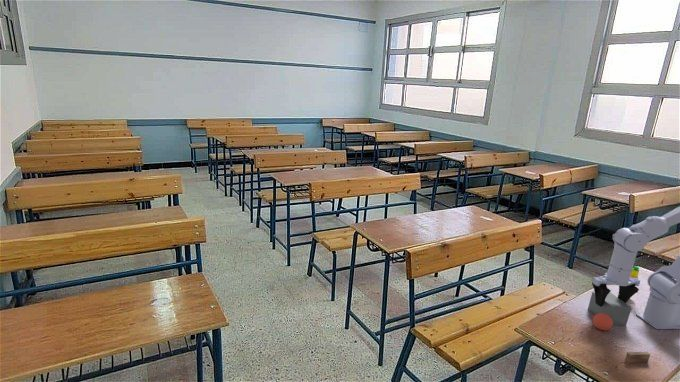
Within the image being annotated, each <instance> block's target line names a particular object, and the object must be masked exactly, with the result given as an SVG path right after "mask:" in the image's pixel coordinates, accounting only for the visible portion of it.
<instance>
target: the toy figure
mask: <svg viewBox="0 0 680 382" xmlns="http://www.w3.org/2000/svg"><path fill="white" fill-rule="evenodd" d="M639 274H640V267H639V266H637V265H633V268H632V272H631V275H630V277H633V278H637V279H639Z"/></svg>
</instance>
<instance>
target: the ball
mask: <svg viewBox="0 0 680 382" xmlns="http://www.w3.org/2000/svg"><path fill="white" fill-rule="evenodd" d="M592 323H593V325H594V326H595V327H596V328H597V329H599V330H600V331H608V330H610V329H611V328H612V327H613V326H614V325H613V321H612V319H611V318H610V316H608V315H607V314H604V313H598V314H596V315H595V314H594V315H593V318H592Z"/></svg>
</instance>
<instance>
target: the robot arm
mask: <svg viewBox="0 0 680 382" xmlns="http://www.w3.org/2000/svg"><path fill="white" fill-rule="evenodd" d="M677 224H680V206H677V207H676V208H674V209H673V210H670V211H669V212H667V213H665V214H663V215H662V216H656V215H653V216H650V215H649V216H648V217H646V218H645V219H644V220H643V221H640V222H638V223H636V224H633V225H631V226H629V227H621V228H620V229H618V230H616V231H615V233H613V234H612V240H613V242H614V245H613V247H614V248H613V250H612V255H611V258H610V262H609V266H608V267H607V269H608V270H607V272H605V273H604V275H602V276H601V275H600V276H597V277H596V276H594V277H593V278H592V280H591V281H592V282H591V285H592V288H593V290H594V291H593V292H595V303H596V304H597V305H599V306H600V307H602V306H603V304H604V301H605V299H606V297H607V295H608V294H609V293H611V291H612V290H611V289H609V288H608V286H618V294H617V297H618V298H619V299H620V300H622V301H623V302H625V303H626V304H628V302H629V300H630V299H631V298H632V296H633V297H634V295H635V294H636V293H638V292H639V291H640V289H639V288H638V287H640V284H641V280H640V279H639V278H633V277H630V275H631V272H632V268H634V266H635V262H636V258H637V255H638V252H639V251H642V250H644V249H645V247H646V245H647V244H649V242H650V241H652V240H654V239H656V238H658V237H661V236H663V235H665V234H667V233H668V232H669V229H670V227H672V226H675V225H677ZM646 282H647V285H648V287H650V288H649V291H650V292H649V296H648V298H647V301H646V305H645V308H644V311H643V312H636V313H635V315H636V316H637V317H639V318H640V319H641V320H643V321H644V322H646V323H647V324H649V325H650V326H652V327H653V328H655V329H656V330H679V329H680V254H679V256H677V257H676V259H675V260H674V261H673V262H672V263H671V265H664V266H660V268H659V269H657V270H656V271H654V272H652V273H651V274H650V275H649V276H648V277H647V281H646Z"/></svg>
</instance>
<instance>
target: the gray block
mask: <svg viewBox="0 0 680 382" xmlns="http://www.w3.org/2000/svg"><path fill="white" fill-rule="evenodd" d="M587 309H588V310H589V311H590V312H591V313H592V314H594V316H595V315H596V314H598V313H604V314H607V315H608V316H610V318H611V319H612V321H613V325H612V326H627V323H628V320H629V318H630V314H631V311H632V306H631V305H629V304H628V303H625V302H623V301H622V300H620V299H619V298H618V296H616V295H614V293H611V292H610V293H609V294H608V295H607V297H606V299H605V301H604V304H603V306H602V307H600V306H599V305H597V304H596V303H595V291H592V292H591V297H590V299H589V302H588V307H587Z"/></svg>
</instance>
